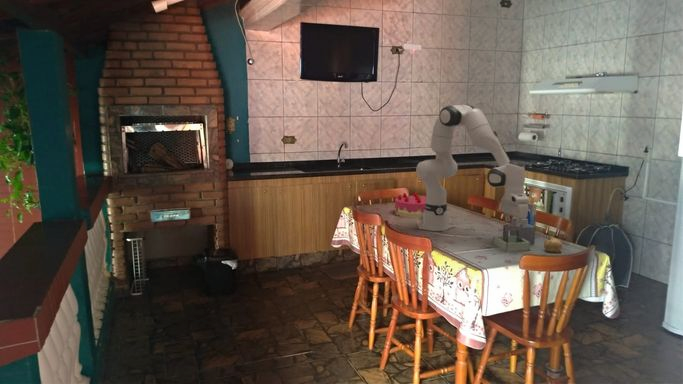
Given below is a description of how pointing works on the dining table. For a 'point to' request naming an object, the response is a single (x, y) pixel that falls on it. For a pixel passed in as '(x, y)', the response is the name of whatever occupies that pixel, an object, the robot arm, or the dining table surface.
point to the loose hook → (512, 228)
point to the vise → (525, 231)
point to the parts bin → (511, 244)
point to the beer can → (531, 218)
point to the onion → (553, 245)
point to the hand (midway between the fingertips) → (512, 224)
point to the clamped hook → (532, 208)
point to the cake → (410, 205)
